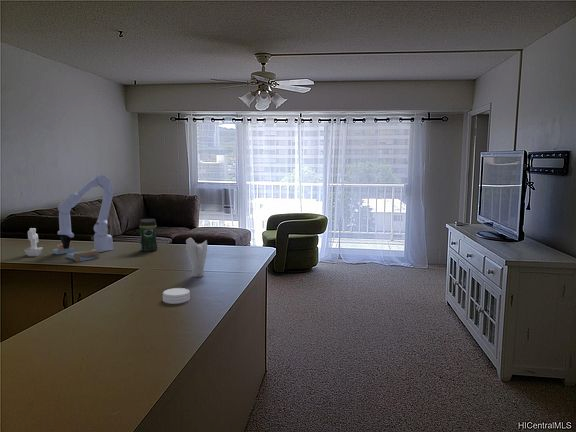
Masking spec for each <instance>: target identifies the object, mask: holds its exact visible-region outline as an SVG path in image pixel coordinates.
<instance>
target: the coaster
mask: <svg viewBox="0 0 576 432" xmlns="http://www.w3.org/2000/svg"><path fill="white" fill-rule="evenodd" d="M190 293H191V291H190V290H189V289H188V288H183V287H173V288H168V289H166V290H164V291H163V292H162V301H163V303H165V304H171V305H172V304H173V305H177V304H184V303H187V302H188V301H190V299H191V296H190V295H191V294H190Z"/></svg>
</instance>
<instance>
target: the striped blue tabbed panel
mask: <svg viewBox="0 0 576 432" xmlns="http://www.w3.org/2000/svg"><path fill="white" fill-rule="evenodd" d="M66 258H67V259H70V260H74V262H77V263H79V262H83V261H84V262H85V261H89V260H94V259H95V260H96V259H99V258H100V252H99V251H98V250H92V249H91V250H88V251H87V250H86V251H85V250H79V251H74V252H70V253H66Z"/></svg>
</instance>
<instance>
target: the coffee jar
mask: <svg viewBox="0 0 576 432" xmlns="http://www.w3.org/2000/svg"><path fill="white" fill-rule="evenodd" d="M138 228H139V230H140V243H139V244H140V245H139V246H140V248H139V249H140V251H141V252H153V251H157V250H158V242H157V241H158V240H157V237H156V236H157V232H156V230H157V229H156V228H157V222H156V219H155V218H142V219H140V220H139V225H138Z"/></svg>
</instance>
